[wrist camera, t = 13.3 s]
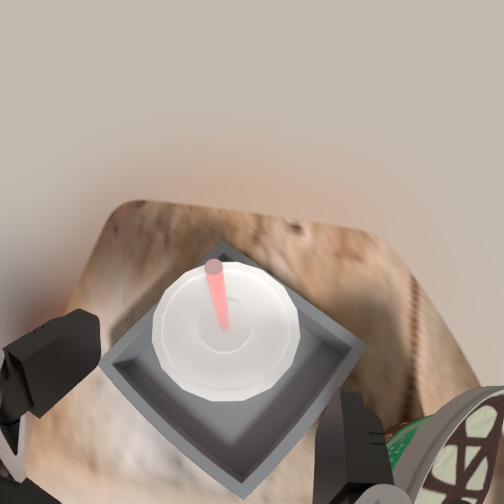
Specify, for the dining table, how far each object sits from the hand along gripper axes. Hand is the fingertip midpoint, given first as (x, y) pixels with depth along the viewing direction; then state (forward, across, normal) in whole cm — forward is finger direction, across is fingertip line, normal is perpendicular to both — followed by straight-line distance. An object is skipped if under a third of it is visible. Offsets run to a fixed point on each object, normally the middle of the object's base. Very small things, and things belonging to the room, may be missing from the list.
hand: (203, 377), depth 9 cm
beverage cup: (+10, 0, +6) cm, 12 cm away
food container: (+6, -12, +11) cm, 17 cm away
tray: (+10, 0, +7) cm, 12 cm away
